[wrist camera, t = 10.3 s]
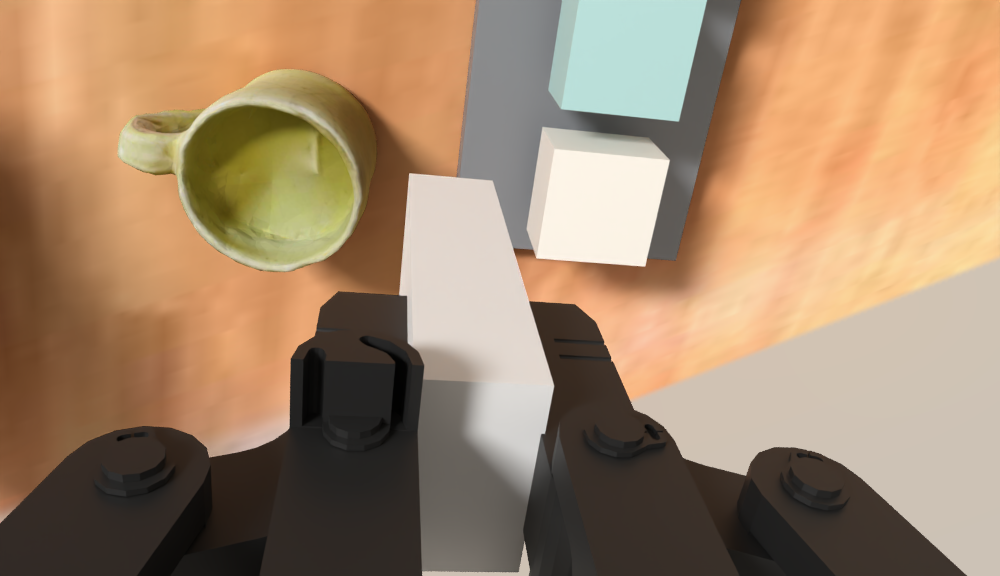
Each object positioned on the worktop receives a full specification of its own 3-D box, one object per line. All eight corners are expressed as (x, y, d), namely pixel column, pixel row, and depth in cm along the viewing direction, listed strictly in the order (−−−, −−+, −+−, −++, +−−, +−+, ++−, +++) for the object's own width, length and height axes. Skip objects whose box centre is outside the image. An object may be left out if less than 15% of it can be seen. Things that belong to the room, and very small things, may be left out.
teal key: (548, 90, 42) (560, 109, 38) (567, -31, 39) (582, -22, 36) (656, 101, 43) (678, 121, 39) (681, -16, 40) (708, -6, 37)
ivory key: (526, 229, 46) (536, 258, 42) (542, 126, 43) (554, 149, 39) (627, 237, 46) (645, 266, 43) (648, 137, 44) (669, 160, 40)
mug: (434, 93, 43) (371, 184, 36) (370, 223, 50) (305, 324, 42) (230, -26, 42) (118, 43, 34) (191, 124, 48) (89, 210, 40)
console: (450, 230, 49) (455, 266, 44) (506, -274, 38) (519, -296, 33) (666, 247, 51) (691, 283, 47) (780, -225, 40) (829, -239, 35)
